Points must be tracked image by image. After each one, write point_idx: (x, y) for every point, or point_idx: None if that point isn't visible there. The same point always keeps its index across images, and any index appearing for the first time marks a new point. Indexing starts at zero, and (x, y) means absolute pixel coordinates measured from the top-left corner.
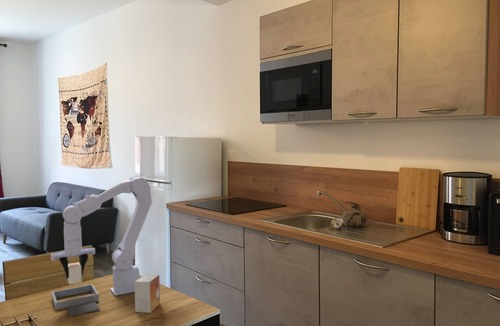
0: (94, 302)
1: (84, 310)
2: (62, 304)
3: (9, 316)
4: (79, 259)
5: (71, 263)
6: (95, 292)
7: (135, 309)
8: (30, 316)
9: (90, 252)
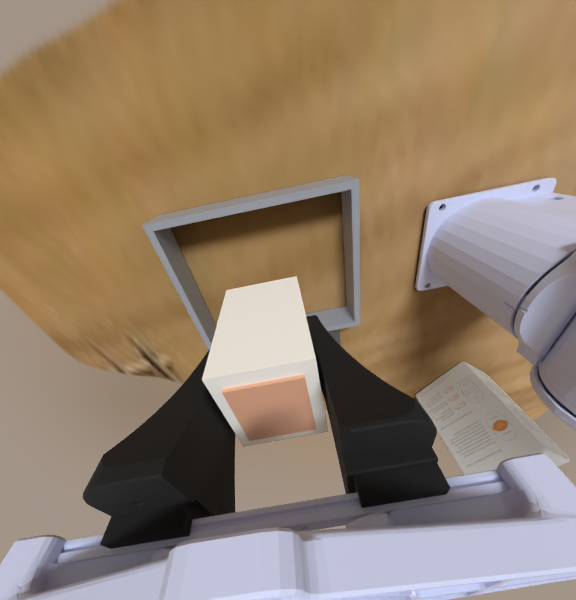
0: (335, 330)
1: None
2: None
3: (69, 339)
4: (330, 403)
5: (244, 372)
6: (352, 297)
7: (418, 400)
8: (148, 356)
9: (489, 509)
